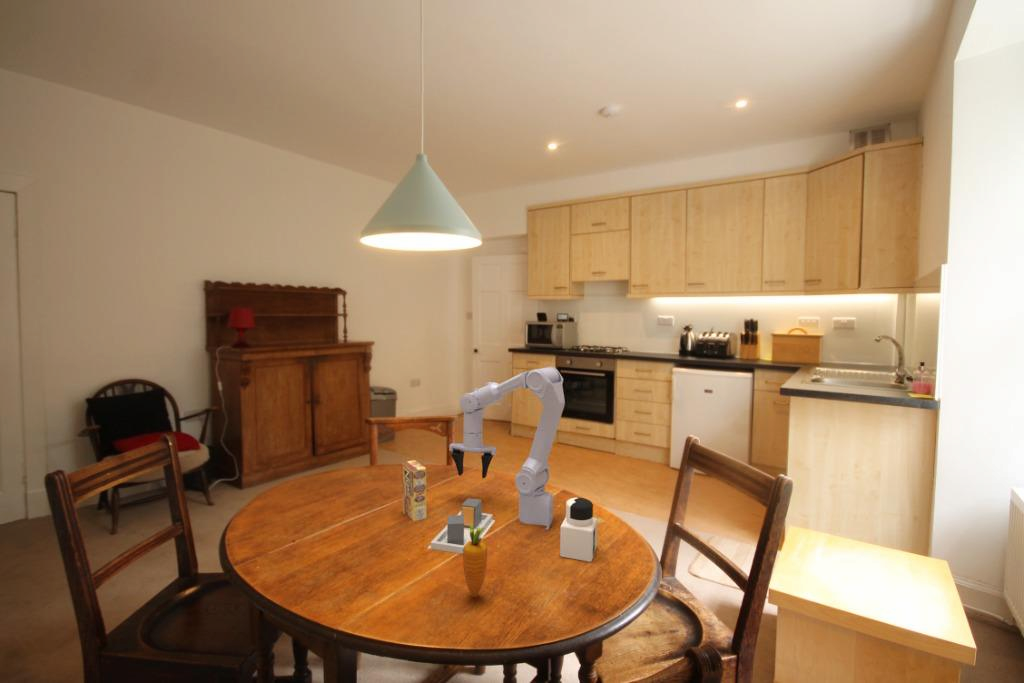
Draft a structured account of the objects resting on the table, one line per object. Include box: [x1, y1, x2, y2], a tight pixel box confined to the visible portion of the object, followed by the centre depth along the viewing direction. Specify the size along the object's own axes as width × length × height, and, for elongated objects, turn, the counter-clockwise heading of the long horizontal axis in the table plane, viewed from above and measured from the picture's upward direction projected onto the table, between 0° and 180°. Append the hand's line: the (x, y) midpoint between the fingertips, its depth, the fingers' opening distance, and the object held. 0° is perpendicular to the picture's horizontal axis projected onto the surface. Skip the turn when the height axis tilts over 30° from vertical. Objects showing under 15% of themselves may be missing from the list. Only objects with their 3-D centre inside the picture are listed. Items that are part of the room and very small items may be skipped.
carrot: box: [462, 524, 488, 598], centre depth 95 cm, size 5×5×15 cm
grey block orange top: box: [446, 514, 464, 545], centre depth 117 cm, size 4×5×6 cm
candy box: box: [402, 460, 427, 522], centre depth 133 cm, size 9×4×15 cm, turn 33°
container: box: [559, 497, 598, 563], centre depth 115 cm, size 8×8×13 cm
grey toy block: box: [460, 497, 483, 529], centre depth 127 cm, size 4×5×6 cm
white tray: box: [427, 510, 496, 555], centre depth 122 cm, size 11×20×2 cm, turn 164°
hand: (472, 475), depth 142 cm, fingers open, 7 cm apart
